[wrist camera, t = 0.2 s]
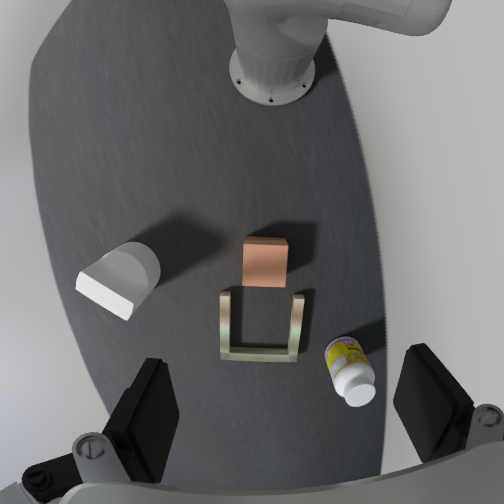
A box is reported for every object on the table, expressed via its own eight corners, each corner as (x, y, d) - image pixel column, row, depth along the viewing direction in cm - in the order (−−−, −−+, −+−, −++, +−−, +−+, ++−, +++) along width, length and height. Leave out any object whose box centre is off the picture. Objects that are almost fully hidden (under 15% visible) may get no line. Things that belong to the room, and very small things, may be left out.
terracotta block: (245, 236, 46) (243, 243, 41) (284, 237, 46) (288, 245, 41) (243, 273, 47) (242, 285, 42) (282, 275, 47) (285, 287, 42)
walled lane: (221, 290, 48) (220, 295, 46) (302, 294, 48) (304, 299, 46) (221, 352, 51) (220, 359, 49) (295, 355, 51) (296, 362, 49)
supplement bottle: (366, 346, 50) (390, 390, 38) (340, 370, 52) (357, 416, 39) (342, 328, 49) (364, 372, 37) (316, 353, 51) (330, 401, 38)
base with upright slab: (169, 258, 47) (142, 285, 35) (149, 302, 49) (122, 337, 37) (122, 231, 46) (85, 250, 34) (105, 277, 48) (70, 305, 36)
